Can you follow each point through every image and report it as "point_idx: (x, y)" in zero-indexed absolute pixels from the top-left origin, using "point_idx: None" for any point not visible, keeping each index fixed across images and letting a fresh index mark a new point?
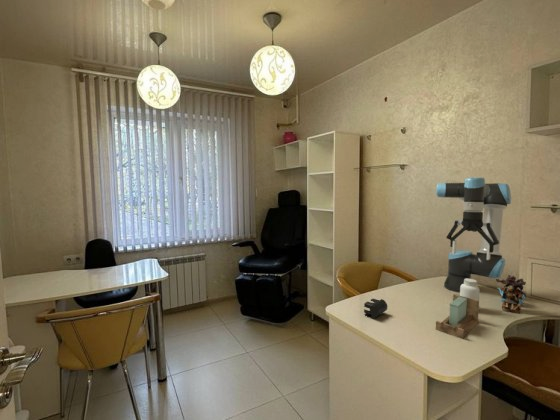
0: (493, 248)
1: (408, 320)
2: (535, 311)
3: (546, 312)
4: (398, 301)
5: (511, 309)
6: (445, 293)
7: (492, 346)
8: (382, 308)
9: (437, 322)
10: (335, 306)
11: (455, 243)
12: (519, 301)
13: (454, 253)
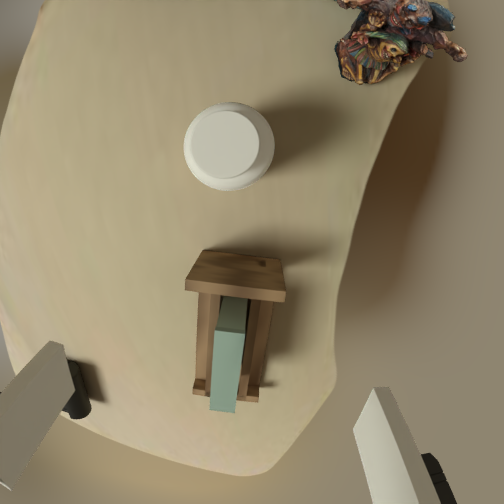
0: (445, 488)
1: (131, 369)
2: None
3: None
4: (52, 258)
5: (370, 82)
6: (137, 39)
7: (317, 379)
8: (82, 398)
9: (196, 393)
10: None
11: (10, 446)
12: None
13: (68, 383)
